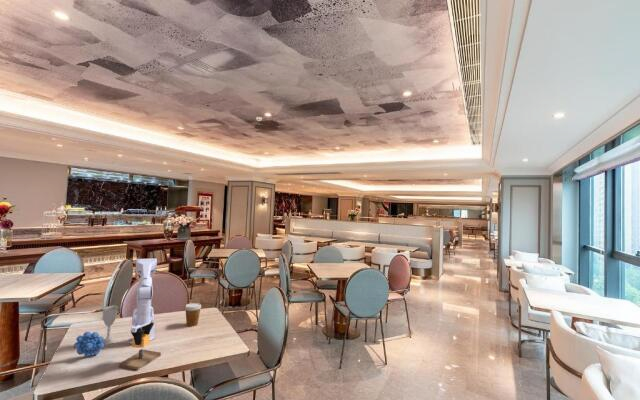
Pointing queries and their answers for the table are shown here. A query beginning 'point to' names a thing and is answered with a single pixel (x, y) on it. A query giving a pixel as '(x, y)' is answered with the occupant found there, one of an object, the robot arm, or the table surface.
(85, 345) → the grapes
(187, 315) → the disposable coffee cup
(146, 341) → the orange hollow frame block
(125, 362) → the keeper base
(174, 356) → the table surface
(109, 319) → the chalice
